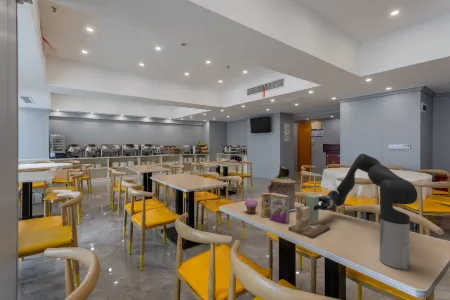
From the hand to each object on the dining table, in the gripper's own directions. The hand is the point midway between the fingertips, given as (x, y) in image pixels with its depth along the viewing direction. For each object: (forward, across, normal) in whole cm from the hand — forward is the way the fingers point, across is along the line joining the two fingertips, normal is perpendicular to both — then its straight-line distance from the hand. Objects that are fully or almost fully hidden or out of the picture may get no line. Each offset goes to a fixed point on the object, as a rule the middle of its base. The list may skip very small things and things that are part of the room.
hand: (309, 207), depth 122 cm
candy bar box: (+4, -18, +12) cm, 22 cm away
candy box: (+2, -28, +12) cm, 31 cm away
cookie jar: (-23, -35, +13) cm, 44 cm away
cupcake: (+6, -40, +12) cm, 42 cm away
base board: (+2, +1, +12) cm, 12 cm away
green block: (-3, 0, +8) cm, 8 cm away
